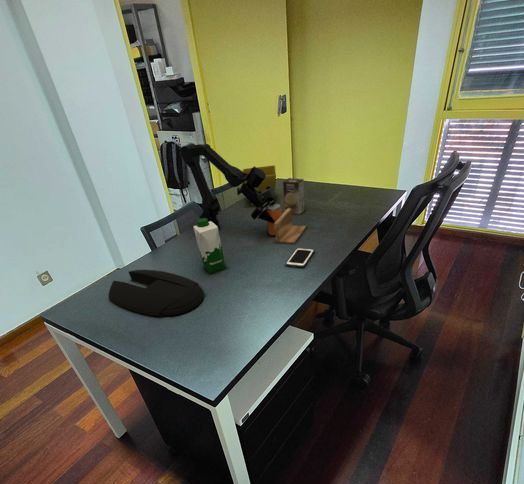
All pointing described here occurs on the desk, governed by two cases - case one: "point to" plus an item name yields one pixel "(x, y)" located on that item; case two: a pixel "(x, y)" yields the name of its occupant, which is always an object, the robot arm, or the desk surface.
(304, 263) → the cell phone
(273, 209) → the tin can
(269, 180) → the cardboard box
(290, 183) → the coffee box
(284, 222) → the wooden bookend
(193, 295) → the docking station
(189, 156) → the robot arm
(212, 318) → the desk surface
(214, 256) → the milk carton
